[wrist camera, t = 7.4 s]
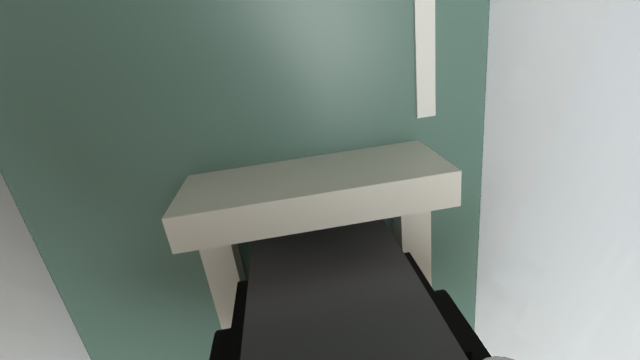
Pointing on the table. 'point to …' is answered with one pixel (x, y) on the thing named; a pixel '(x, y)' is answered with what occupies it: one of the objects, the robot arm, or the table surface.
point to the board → (234, 147)
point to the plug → (340, 300)
